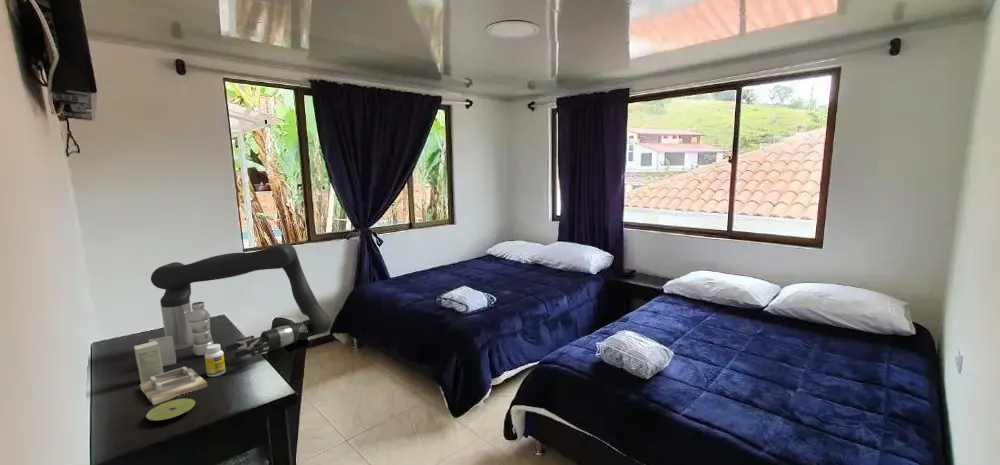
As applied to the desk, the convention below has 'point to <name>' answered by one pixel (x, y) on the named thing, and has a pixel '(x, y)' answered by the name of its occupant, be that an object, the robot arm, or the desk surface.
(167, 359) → the tea bag
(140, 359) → the skincare box
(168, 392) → the socket board
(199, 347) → the plastic bottle
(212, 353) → the supplement bottle
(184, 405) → the green disc with hole
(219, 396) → the desk surface
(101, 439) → the desk surface
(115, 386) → the desk surface
